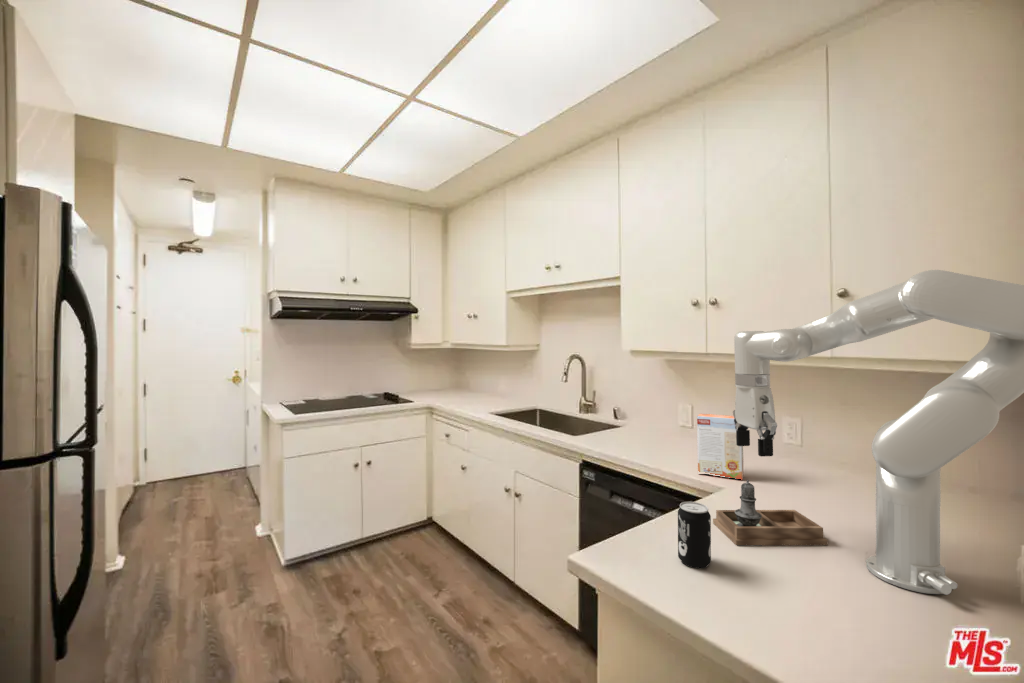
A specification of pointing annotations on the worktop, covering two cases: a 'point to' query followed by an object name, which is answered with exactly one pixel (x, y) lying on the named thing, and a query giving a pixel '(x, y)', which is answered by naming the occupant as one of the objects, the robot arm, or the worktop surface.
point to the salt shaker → (747, 507)
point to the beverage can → (694, 534)
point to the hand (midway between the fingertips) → (753, 450)
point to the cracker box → (719, 446)
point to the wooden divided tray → (771, 529)
